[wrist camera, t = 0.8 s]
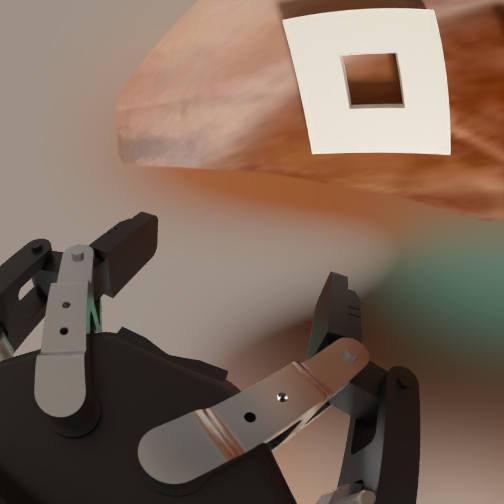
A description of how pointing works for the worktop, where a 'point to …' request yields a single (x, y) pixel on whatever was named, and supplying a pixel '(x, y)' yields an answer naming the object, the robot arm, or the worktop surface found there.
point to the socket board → (371, 115)
